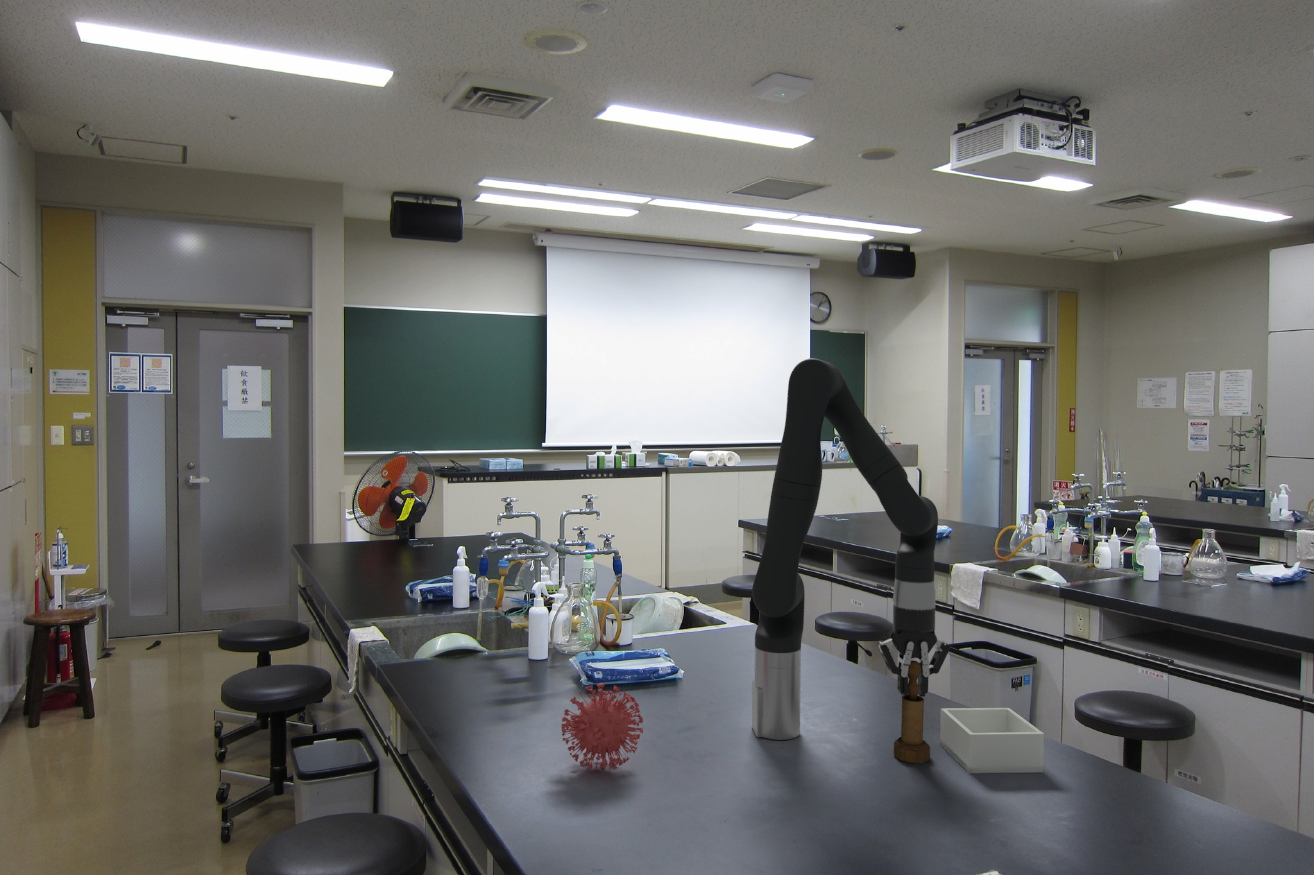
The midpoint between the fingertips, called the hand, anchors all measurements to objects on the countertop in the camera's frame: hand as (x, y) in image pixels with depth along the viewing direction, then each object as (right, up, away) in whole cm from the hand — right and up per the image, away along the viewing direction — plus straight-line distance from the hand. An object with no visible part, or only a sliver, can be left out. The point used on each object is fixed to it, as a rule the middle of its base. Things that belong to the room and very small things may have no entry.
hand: (912, 695), depth 159 cm
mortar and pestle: (0, -12, 0) cm, 12 cm away
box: (+14, -12, 0) cm, 19 cm away
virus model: (-58, -12, -6) cm, 59 cm away
